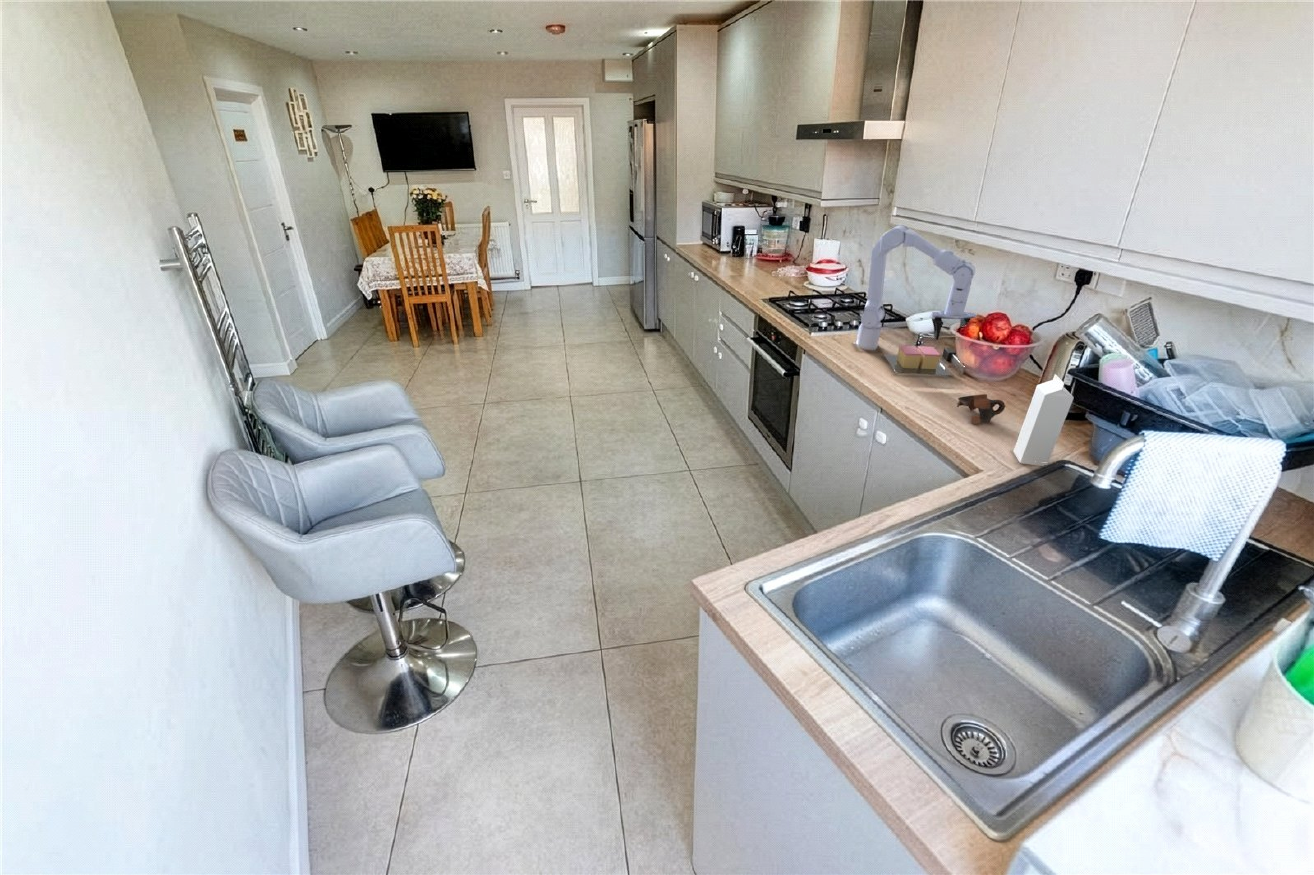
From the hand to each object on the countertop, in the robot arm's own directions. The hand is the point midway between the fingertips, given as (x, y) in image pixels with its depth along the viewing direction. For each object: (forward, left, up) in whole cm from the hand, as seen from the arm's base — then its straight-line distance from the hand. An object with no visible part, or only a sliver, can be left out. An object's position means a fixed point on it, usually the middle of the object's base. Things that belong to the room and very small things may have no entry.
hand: (947, 339), depth 196 cm
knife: (+4, +3, -9) cm, 10 cm away
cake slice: (+5, -7, -8) cm, 12 cm away
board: (+5, -10, -9) cm, 14 cm away
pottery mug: (+44, -4, -9) cm, 45 cm away
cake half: (+5, -13, -8) cm, 16 cm away
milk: (+67, 0, -9) cm, 68 cm away
